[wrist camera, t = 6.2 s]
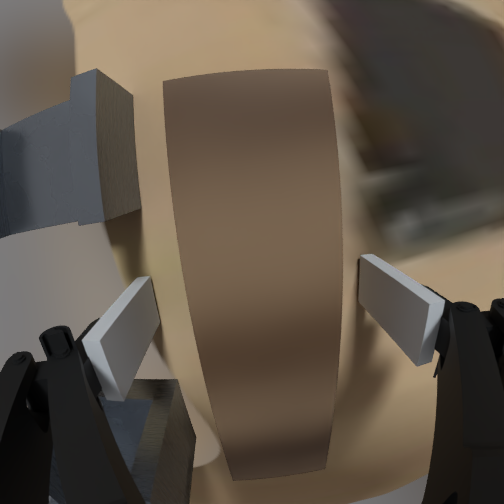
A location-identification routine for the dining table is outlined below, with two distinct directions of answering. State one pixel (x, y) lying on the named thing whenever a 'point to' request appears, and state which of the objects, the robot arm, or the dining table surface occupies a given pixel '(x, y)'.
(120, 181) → the saddle block
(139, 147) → the dining table surface
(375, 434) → the dining table surface
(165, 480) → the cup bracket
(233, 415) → the rail
